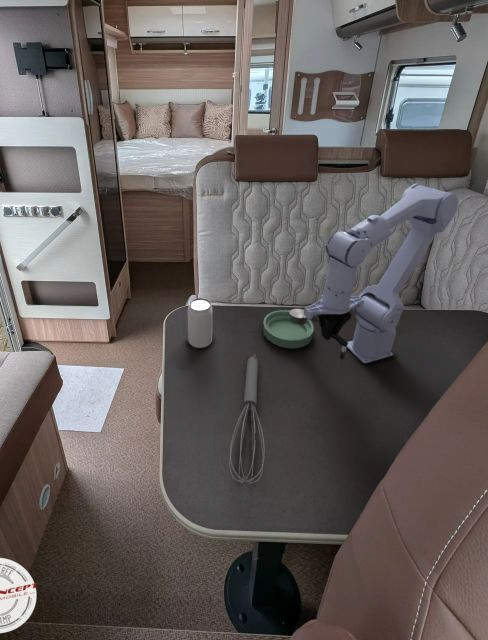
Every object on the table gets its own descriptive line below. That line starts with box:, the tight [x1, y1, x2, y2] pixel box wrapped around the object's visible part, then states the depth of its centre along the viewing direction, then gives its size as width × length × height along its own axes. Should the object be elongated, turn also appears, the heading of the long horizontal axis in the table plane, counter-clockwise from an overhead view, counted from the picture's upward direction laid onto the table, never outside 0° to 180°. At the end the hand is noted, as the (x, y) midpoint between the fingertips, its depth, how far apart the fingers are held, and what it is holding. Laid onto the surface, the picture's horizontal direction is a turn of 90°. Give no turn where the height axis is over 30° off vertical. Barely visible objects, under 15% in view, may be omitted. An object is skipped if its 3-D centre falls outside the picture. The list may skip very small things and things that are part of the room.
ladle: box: [289, 308, 348, 360], centre depth 88 cm, size 20×5×5 cm, turn 20°
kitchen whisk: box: [229, 353, 266, 486], centre depth 76 cm, size 6×34×6 cm, turn 172°
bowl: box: [262, 309, 315, 349], centre depth 101 cm, size 14×14×3 cm
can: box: [187, 297, 213, 349], centre depth 95 cm, size 6×6×12 cm
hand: (328, 336), depth 84 cm, fingers closed on ladle
